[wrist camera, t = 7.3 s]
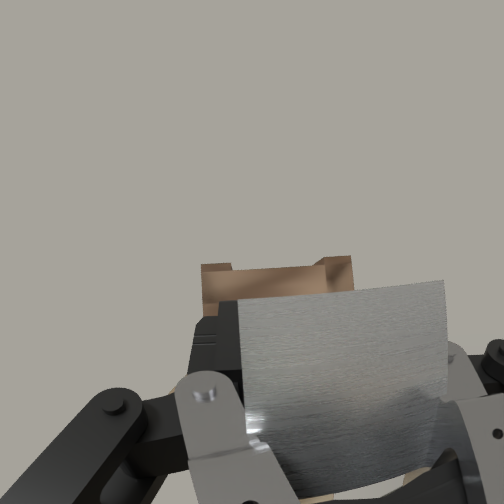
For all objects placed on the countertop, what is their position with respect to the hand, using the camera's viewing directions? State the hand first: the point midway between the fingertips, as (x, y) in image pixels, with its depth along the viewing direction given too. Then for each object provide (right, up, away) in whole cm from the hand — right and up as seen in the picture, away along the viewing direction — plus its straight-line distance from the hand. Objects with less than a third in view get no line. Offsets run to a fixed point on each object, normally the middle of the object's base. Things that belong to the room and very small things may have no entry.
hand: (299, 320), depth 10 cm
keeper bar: (0, -5, +6) cm, 8 cm away
